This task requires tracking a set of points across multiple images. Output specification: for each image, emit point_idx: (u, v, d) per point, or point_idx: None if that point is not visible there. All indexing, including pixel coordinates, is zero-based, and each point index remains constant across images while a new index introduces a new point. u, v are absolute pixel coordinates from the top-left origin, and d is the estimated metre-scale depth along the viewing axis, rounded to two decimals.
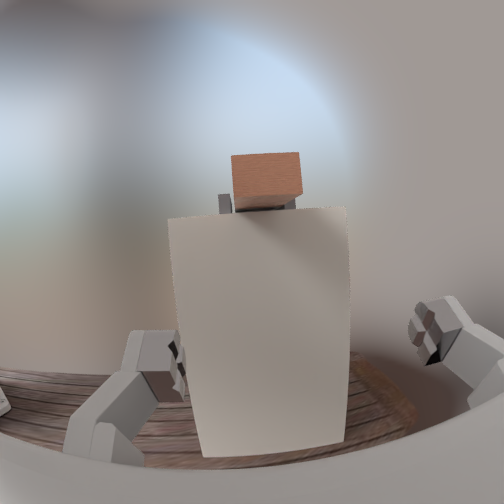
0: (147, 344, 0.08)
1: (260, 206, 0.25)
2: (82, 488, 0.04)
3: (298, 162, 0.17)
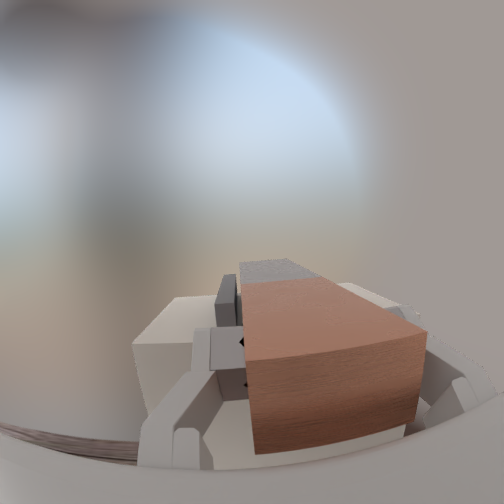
0: (216, 342, 0.08)
1: None
2: (82, 488, 0.04)
3: (421, 357, 0.06)
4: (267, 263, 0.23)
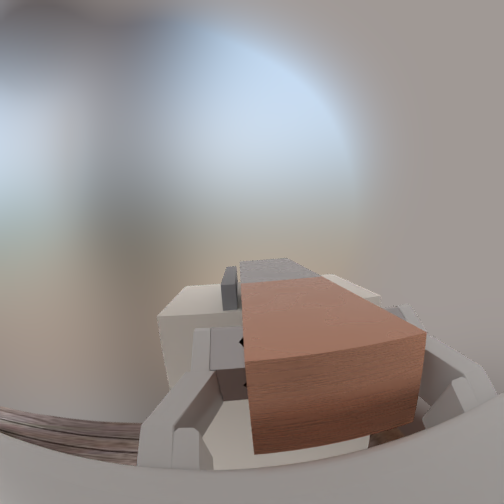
0: (216, 342, 0.08)
1: None
2: (82, 488, 0.04)
3: (421, 358, 0.06)
4: (267, 262, 0.23)
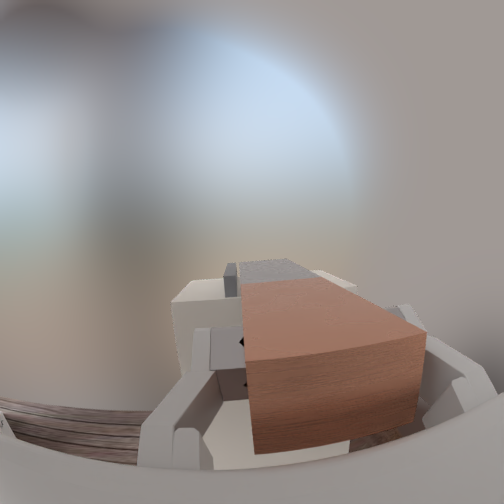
0: (216, 342, 0.08)
1: None
2: (82, 488, 0.04)
3: (421, 358, 0.06)
4: (267, 263, 0.23)
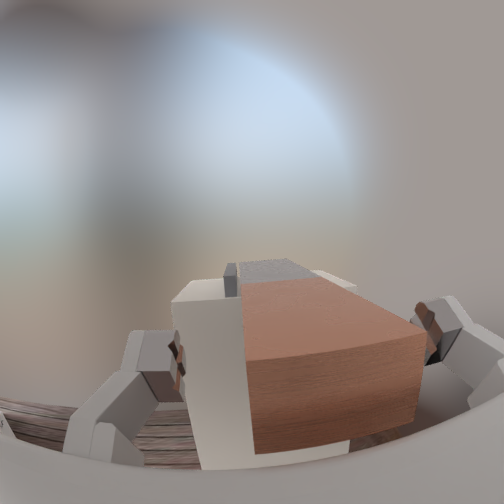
0: (147, 344, 0.08)
1: None
2: (82, 488, 0.04)
3: (421, 357, 0.06)
4: (267, 263, 0.23)
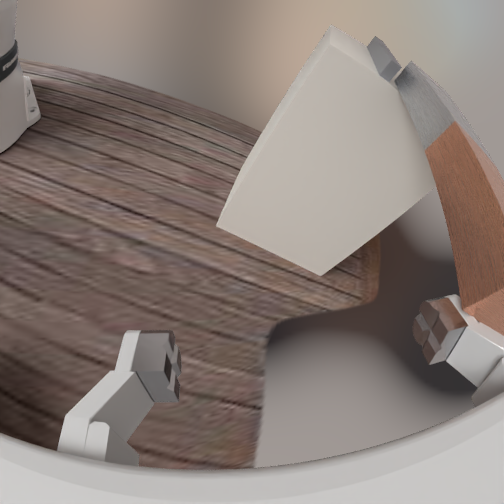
0: (142, 344, 0.08)
1: None
2: (82, 488, 0.04)
3: None
4: (438, 87, 0.16)
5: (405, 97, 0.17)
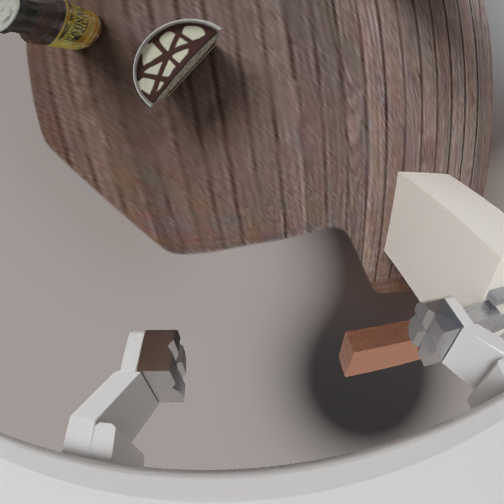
0: (147, 344, 0.08)
1: None
2: (82, 488, 0.04)
3: None
4: None
5: (469, 307, 0.27)
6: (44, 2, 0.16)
